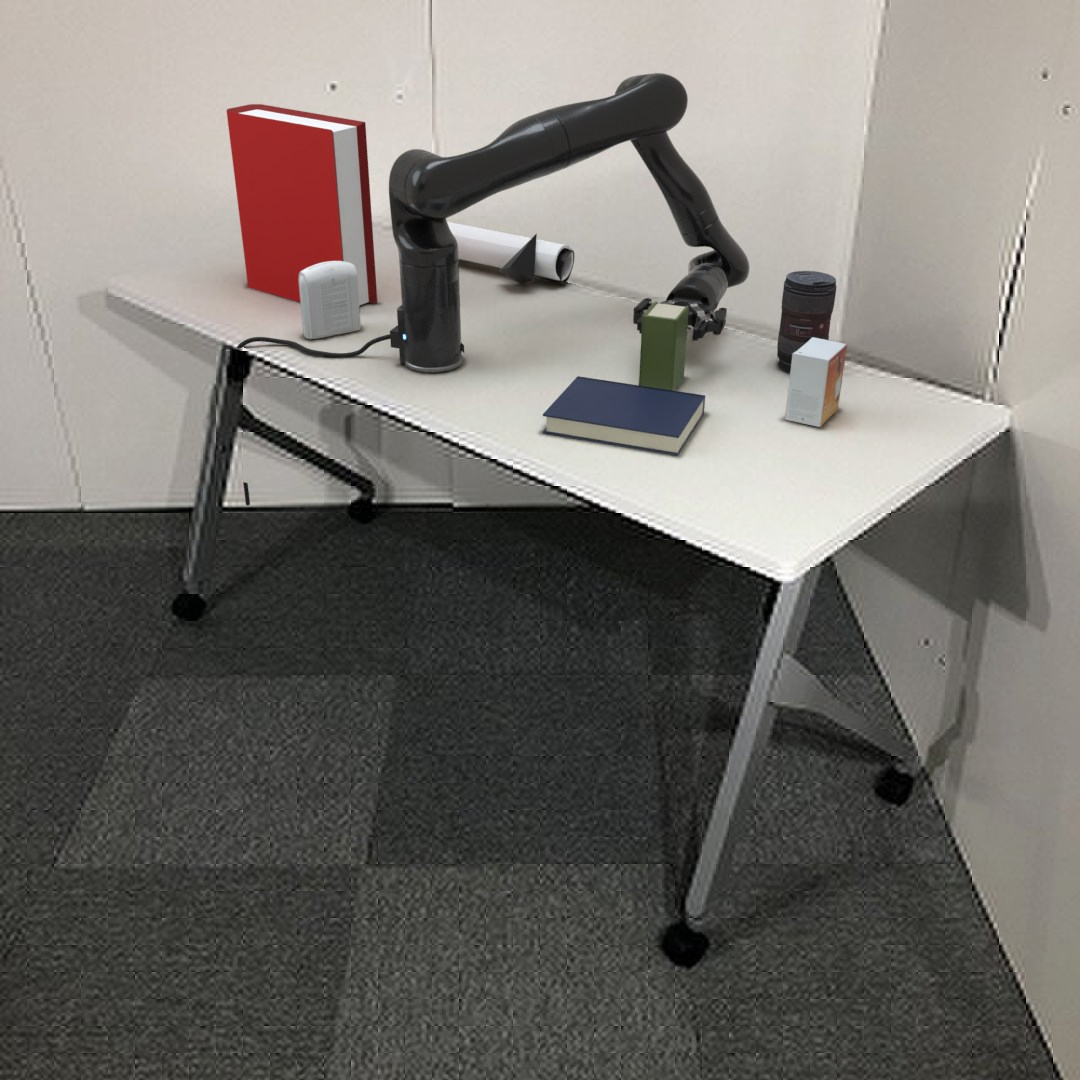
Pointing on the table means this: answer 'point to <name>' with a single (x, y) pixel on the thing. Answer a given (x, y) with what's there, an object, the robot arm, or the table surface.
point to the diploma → (514, 254)
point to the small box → (815, 381)
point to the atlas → (625, 415)
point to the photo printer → (329, 299)
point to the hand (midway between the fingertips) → (668, 331)
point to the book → (301, 196)
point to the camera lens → (804, 312)
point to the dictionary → (663, 346)
